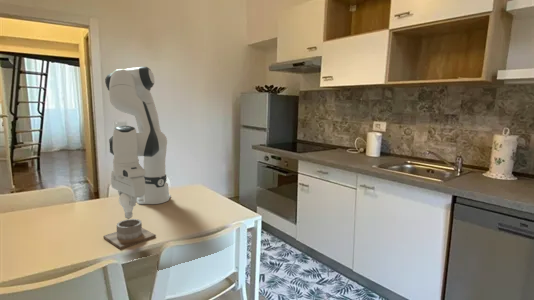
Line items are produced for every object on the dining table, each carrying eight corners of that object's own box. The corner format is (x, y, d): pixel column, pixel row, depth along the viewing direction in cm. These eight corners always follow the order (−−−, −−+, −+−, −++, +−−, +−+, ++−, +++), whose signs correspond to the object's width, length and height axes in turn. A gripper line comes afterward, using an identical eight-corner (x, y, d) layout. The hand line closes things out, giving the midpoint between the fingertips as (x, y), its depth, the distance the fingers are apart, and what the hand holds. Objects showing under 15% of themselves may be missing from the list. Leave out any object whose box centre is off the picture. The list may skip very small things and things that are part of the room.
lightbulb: (120, 222, 114) (118, 194, 112) (119, 216, 120) (118, 190, 118) (138, 220, 117) (137, 192, 115) (136, 214, 122) (135, 188, 121)
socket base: (103, 238, 118) (102, 223, 117) (137, 227, 129) (137, 214, 128) (120, 249, 109) (119, 233, 108) (155, 237, 120) (155, 222, 119)
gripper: (105, 165, 119) (107, 199, 121) (131, 174, 106) (132, 211, 108) (121, 163, 124) (123, 196, 126) (148, 171, 111) (149, 207, 113)
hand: (127, 203), depth 117 cm, fingers closed on lightbulb, 6 cm apart
